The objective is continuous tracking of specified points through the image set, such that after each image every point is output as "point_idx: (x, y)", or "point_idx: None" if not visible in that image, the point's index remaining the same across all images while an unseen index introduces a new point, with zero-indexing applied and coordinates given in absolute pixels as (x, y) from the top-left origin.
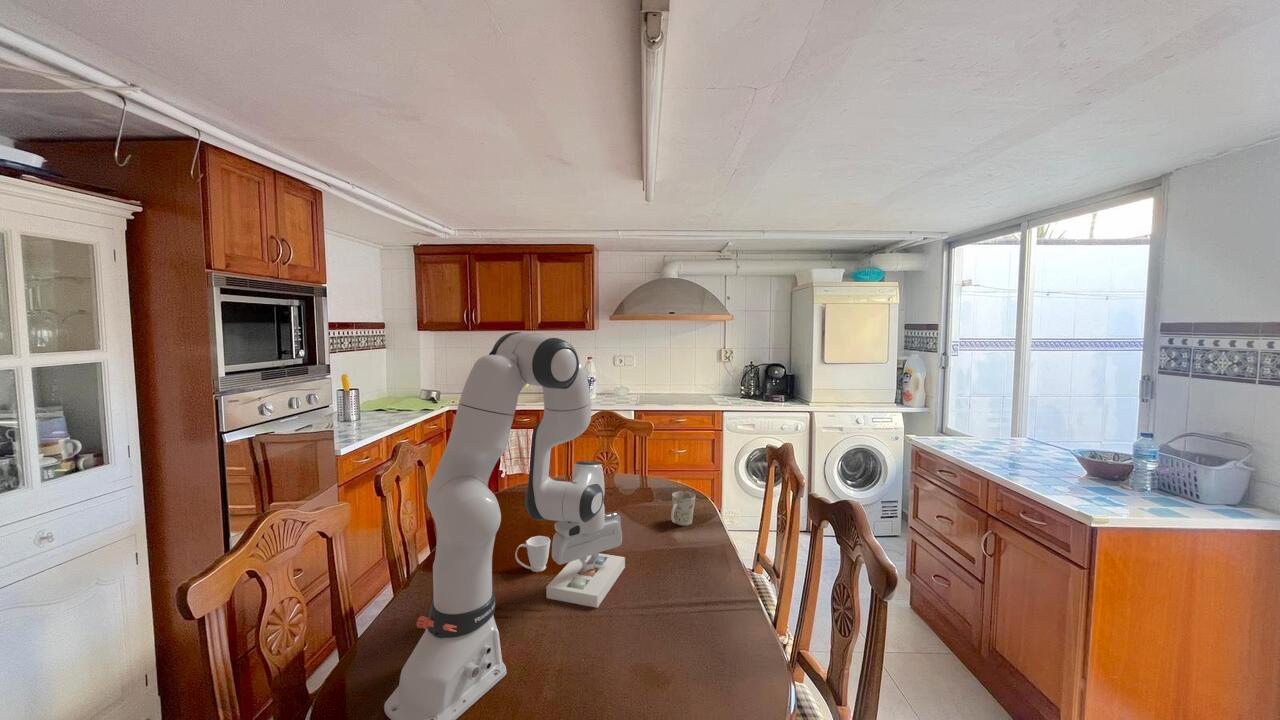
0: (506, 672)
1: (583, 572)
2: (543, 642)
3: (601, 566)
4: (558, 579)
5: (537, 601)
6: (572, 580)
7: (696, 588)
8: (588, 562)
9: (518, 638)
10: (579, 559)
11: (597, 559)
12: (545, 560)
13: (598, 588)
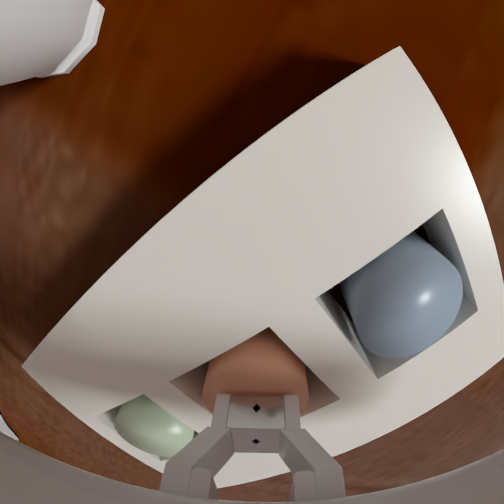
0: (18, 439)
1: (211, 408)
2: (58, 441)
3: (363, 388)
4: (64, 360)
5: (22, 329)
6: (128, 418)
7: (462, 459)
8: (262, 435)
9: (12, 404)
10: (174, 462)
11: (408, 321)
12: (39, 62)
13: (223, 479)
